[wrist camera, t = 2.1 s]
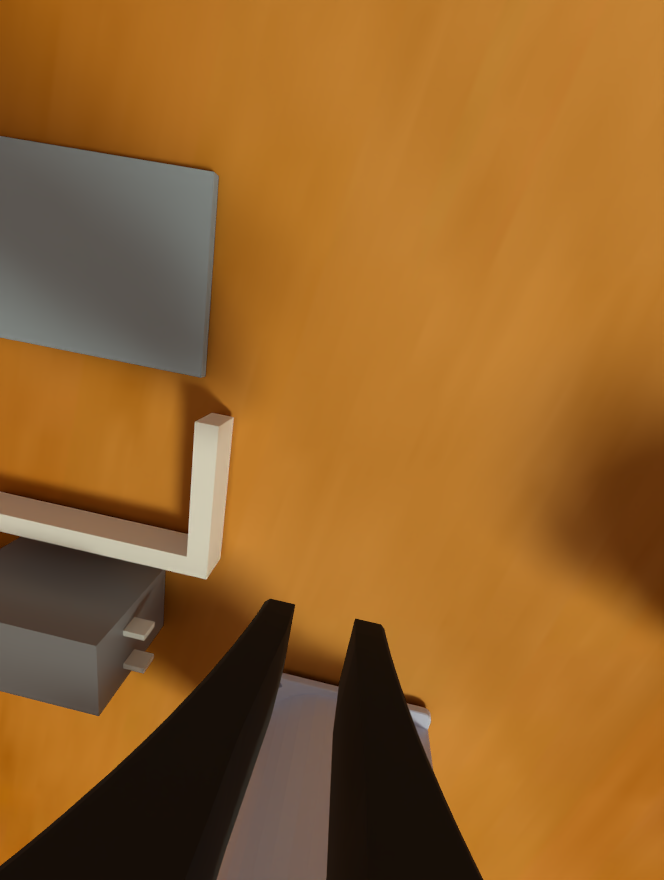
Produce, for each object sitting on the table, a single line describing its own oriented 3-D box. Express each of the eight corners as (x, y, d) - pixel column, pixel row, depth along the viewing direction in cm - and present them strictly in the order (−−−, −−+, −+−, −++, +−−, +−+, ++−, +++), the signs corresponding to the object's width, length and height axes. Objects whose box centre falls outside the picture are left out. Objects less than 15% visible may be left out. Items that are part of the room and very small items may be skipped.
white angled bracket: (233, 417, 16) (218, 426, 14) (220, 558, 18) (206, 579, 17) (-18, 365, 17) (-58, 369, 15) (0, 508, 19) (-33, 524, 17)
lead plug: (183, 571, 19) (119, 651, 14) (180, 629, 20) (120, 721, 16) (-61, 514, 20) (-199, 573, 15) (-50, 574, 21) (-174, 646, 16)
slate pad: (218, 176, 13) (213, 172, 13) (205, 376, 16) (201, 377, 15) (-54, 130, 14) (-66, 125, 14) (-28, 329, 16) (-37, 329, 16)
